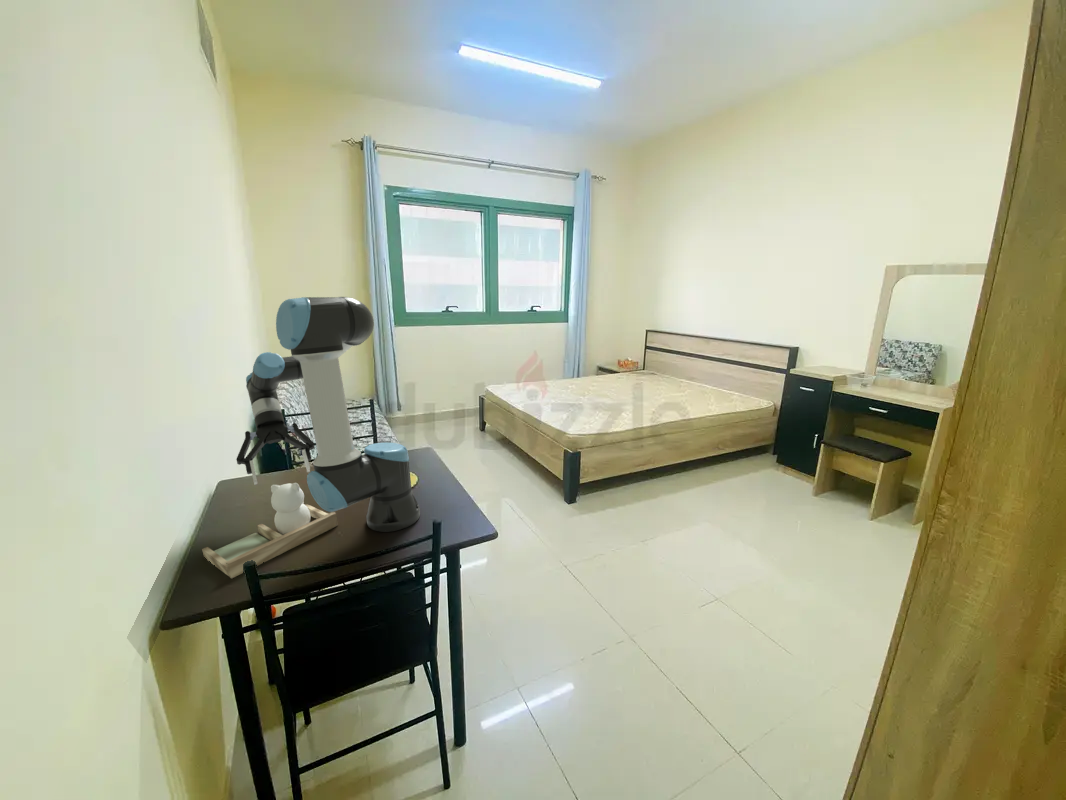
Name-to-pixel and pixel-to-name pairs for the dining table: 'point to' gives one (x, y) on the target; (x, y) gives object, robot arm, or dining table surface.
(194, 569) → the dining table surface
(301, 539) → the organizer
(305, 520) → the cat figurine
